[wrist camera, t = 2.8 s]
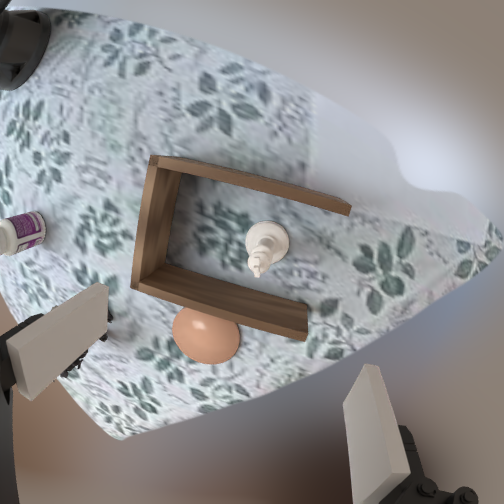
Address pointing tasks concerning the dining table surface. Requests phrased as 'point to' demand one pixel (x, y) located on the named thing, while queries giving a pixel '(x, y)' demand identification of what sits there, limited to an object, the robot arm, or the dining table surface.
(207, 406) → the dining table surface
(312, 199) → the walnut u-shaped open frame
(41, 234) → the pill bottle
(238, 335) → the coaster
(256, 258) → the chess piece
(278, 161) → the dining table surface
